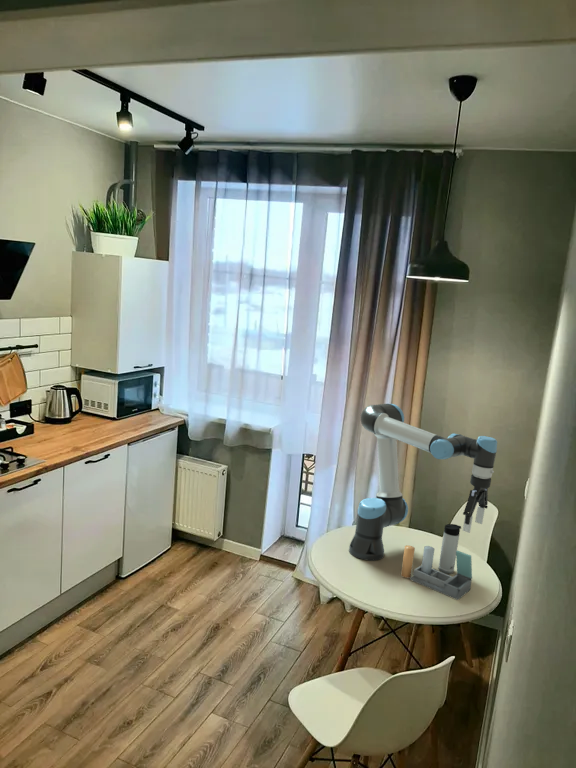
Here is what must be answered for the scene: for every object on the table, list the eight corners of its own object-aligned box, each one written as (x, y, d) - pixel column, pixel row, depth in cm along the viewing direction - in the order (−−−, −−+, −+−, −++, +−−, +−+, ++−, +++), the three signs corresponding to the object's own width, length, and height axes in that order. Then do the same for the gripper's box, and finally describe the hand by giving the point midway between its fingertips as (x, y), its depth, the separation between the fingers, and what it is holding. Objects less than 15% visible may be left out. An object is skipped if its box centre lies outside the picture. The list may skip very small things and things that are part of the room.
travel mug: (455, 575, 236) (462, 529, 233) (438, 572, 237) (445, 526, 235) (453, 568, 242) (460, 524, 239) (437, 565, 244) (444, 521, 241)
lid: (456, 551, 223) (457, 550, 223) (457, 574, 228) (458, 572, 229) (470, 557, 219) (471, 555, 220) (471, 580, 224) (472, 578, 225)
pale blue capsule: (418, 575, 230) (422, 547, 228) (423, 572, 233) (427, 545, 232) (427, 579, 228) (431, 551, 226) (432, 576, 231) (436, 548, 229)
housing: (410, 579, 228) (411, 569, 228) (423, 570, 237) (424, 561, 237) (457, 599, 216) (459, 589, 215) (470, 589, 225) (471, 579, 224)
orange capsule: (399, 575, 231) (403, 547, 230) (403, 572, 234) (407, 544, 233) (408, 578, 229) (411, 550, 227) (412, 575, 232) (416, 547, 230)
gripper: (479, 484, 211) (470, 538, 215) (501, 473, 231) (492, 522, 234) (460, 479, 216) (451, 531, 219) (483, 467, 235) (474, 516, 239)
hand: (472, 527), depth 227 cm, fingers open, 13 cm apart
